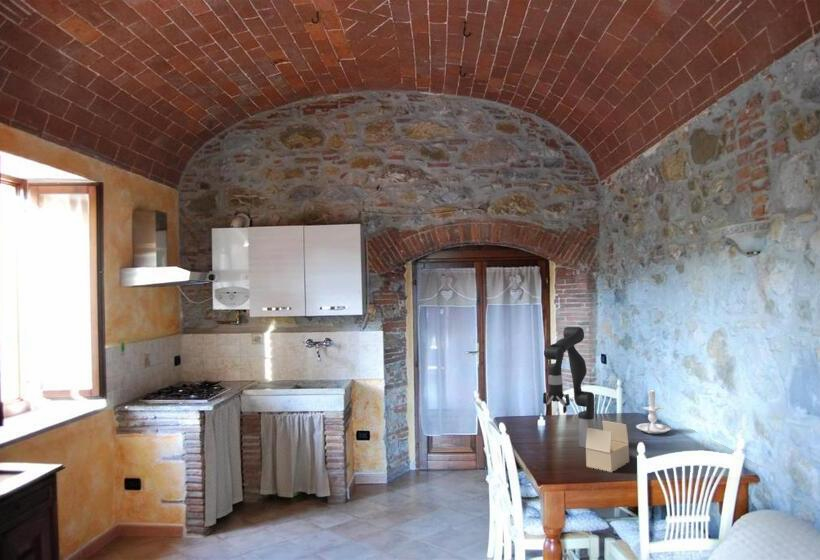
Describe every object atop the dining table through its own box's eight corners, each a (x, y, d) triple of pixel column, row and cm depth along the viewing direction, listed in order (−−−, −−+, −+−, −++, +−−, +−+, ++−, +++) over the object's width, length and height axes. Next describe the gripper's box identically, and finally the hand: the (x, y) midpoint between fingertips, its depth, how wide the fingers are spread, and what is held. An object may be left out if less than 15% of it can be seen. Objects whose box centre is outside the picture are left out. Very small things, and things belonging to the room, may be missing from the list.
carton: (604, 456, 300) (604, 439, 300) (629, 461, 290) (628, 443, 290) (586, 466, 285) (585, 448, 285) (611, 472, 275) (610, 453, 275)
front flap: (587, 427, 287) (587, 427, 286) (611, 431, 277) (611, 431, 277) (586, 447, 285) (585, 447, 284) (610, 453, 275) (609, 452, 275)
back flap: (604, 438, 300) (604, 438, 300) (628, 443, 290) (628, 442, 291) (602, 420, 299) (602, 420, 299) (625, 424, 289) (626, 424, 289)
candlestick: (631, 435, 339) (629, 392, 340) (640, 426, 359) (638, 385, 360) (665, 440, 327) (663, 395, 327) (673, 430, 347) (671, 388, 347)
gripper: (570, 382, 289) (571, 411, 289) (545, 380, 296) (546, 409, 296) (566, 385, 282) (567, 415, 282) (540, 383, 290) (542, 412, 290)
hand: (556, 412), depth 289 cm, fingers open, 8 cm apart
